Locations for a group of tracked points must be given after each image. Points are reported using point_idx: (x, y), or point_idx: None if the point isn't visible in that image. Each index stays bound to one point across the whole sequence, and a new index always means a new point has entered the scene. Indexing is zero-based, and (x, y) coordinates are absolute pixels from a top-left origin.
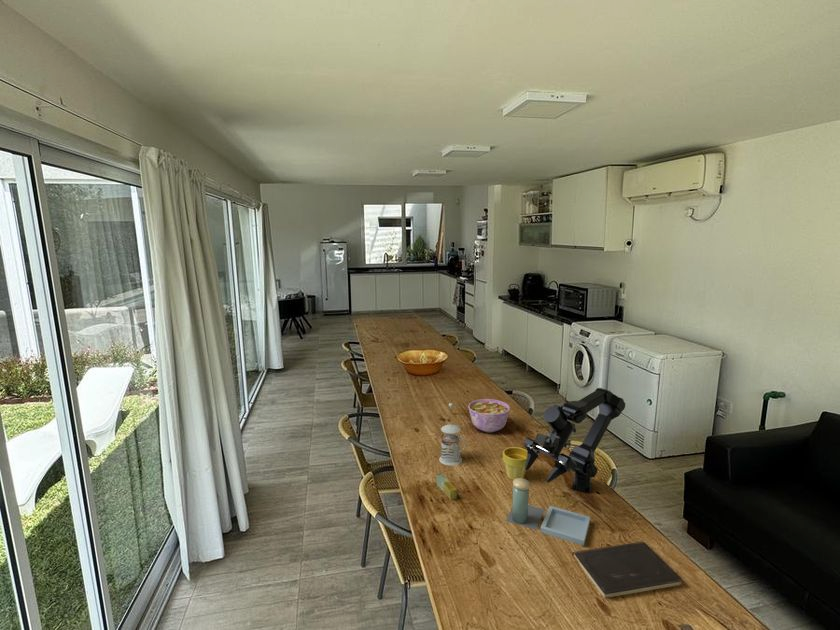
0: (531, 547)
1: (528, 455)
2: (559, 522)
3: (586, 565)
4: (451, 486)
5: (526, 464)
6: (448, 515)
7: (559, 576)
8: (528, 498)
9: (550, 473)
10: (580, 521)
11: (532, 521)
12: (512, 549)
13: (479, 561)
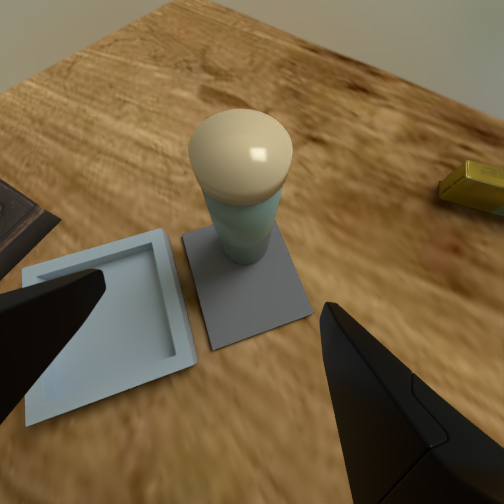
0: (161, 177)
1: (450, 424)
2: (136, 317)
3: (2, 189)
4: (490, 176)
5: (353, 326)
6: (384, 134)
7: (70, 147)
8: (210, 214)
9: (26, 299)
10: (73, 383)
11: (209, 259)
12: None
13: (226, 83)
